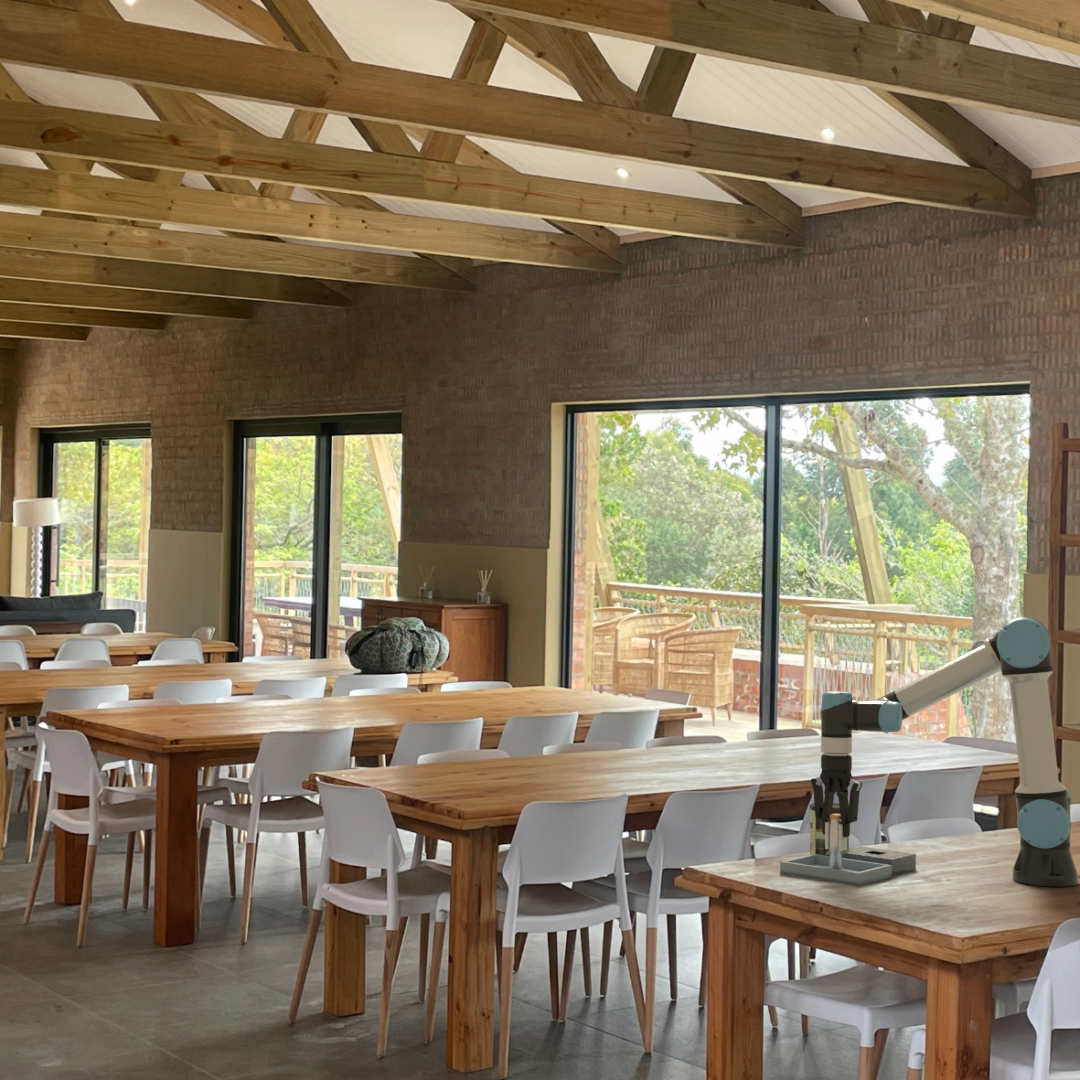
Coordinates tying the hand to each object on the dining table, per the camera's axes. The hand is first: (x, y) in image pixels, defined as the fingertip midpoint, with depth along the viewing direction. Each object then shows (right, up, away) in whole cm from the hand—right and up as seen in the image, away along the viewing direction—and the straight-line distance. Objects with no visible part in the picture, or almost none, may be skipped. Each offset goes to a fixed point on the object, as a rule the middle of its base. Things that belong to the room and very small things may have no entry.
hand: (836, 849), depth 368 cm
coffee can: (+3, -8, +24) cm, 25 cm away
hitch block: (+12, -7, +10) cm, 17 cm away
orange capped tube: (0, -6, 0) cm, 6 cm away
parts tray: (0, -7, 0) cm, 7 cm away
